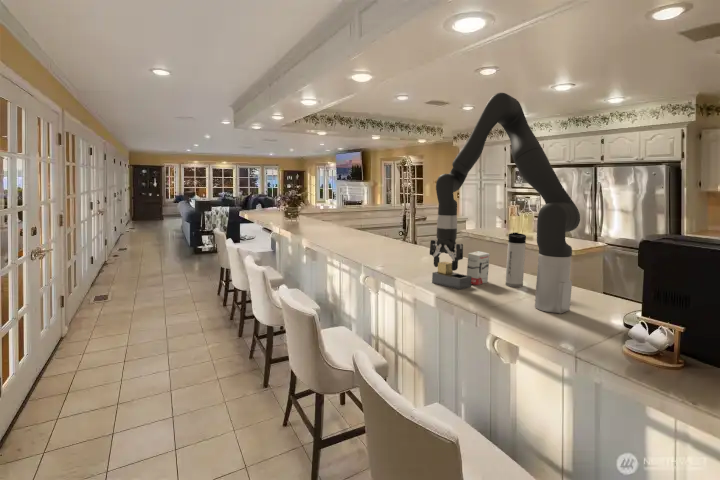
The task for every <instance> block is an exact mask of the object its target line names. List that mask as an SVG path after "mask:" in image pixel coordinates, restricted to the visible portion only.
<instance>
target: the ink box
mask: <svg viewBox="0 0 720 480" xmlns="http://www.w3.org/2000/svg"><path fill="white" fill-rule="evenodd" d="M490 255H491V253H489V252H485V251H480V250H478V251H473V252H469V253H468V255H467V267H466V275H467V276H472V277H471V285H473V286H480V285H482V284H486V283H488V280H489V268H490Z"/></svg>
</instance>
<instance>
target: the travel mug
mask: <svg viewBox="0 0 720 480" xmlns="http://www.w3.org/2000/svg"><path fill="white" fill-rule="evenodd" d="M526 244H527V235H526V234H523V233H519V232H511V233H509V234H508V241H507V253H506V254H507V255H506V268H505V269H506V271H505V285H506V286H508V287H511V288H521V287H523V286H524V274H525V257H526Z"/></svg>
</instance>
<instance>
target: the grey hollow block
mask: <svg viewBox="0 0 720 480" xmlns="http://www.w3.org/2000/svg"><path fill="white" fill-rule="evenodd" d="M471 277H472V276H467V274H463V273H459V272H458V273H457V272H455V271H454V272H453V274H448V275H444V274H440V273H438V271H435V272H432V277H431V278H432V279H431V284H437V285H439V286H443V287H447V288H452V289H455V290H458V291H459V290H460V291H461V290H464V289H468V288H471V287H472V284H471Z"/></svg>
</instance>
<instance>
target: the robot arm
mask: <svg viewBox="0 0 720 480" xmlns="http://www.w3.org/2000/svg"><path fill="white" fill-rule="evenodd" d="M497 124H499V125H501V127H502V128H503V130H504V131H505V133H506V135H507V136H508V138H509V141H510V147H511V148H510V149H511V156H512V160H513V162H514V164H515V167H516V168H517V170H518V172H519V174H520V175H521V177H522V178H523V180H525V181H526V183H528V184H529V185H530V187H532V188H533V189H534V190H535V191H536V192H537V193H538V194H539V195H540V196H541V198H542V200H543V201H544V203H545V204H544V205H542V207H541V208H540V209H539V211H538V214H537V220H536V245H537V246H538V254H537V255H538V258H537V268H536V269H537V271H536V284H535V295H534V296H535V297H534V298H535V299H534V308H536V309H537V310H539V311H543V312H546V313H555V314H564V313H566V312H568V311H570V310H571V309H570V308H571V298H572V289H573V280H572V279H570V278H571V267H572V255H573V247H572V246H571V245H570V244H568V243H567V241H566V233H569V232H572V231H575V230H576V229H577V228H578V227H579V225H580V221H581V214H580V211H579V209H578V206H576V204H575V202H574V201H573V199H572V198H571V197H570V195H569V194H568V192H567V191H566V190H565V188H564V186H563V185H562V183H561V181H560V179H559V178H558V176H557V174H556V172H555V170H554V168H553V167H552V164H551V163H550V160H549V159H548V157H547V154H546V153H545V151H544V149H543V147H542V146H541V144H540V142H539V140H538V139H537V137H536V135H535V133H533V131H532V129H531V127H530V125H529V124H528V120H527V118H526V115H525V112H524V110H523V107H522V105H521V104H520V102H519V101H518V100H517V98H514V97H513V96H511V95H510V94H508V93H505V92H497V93H495V94H494V95H492V96H490V98H489V100H488V101H487V103H486V105H485V107H484V108H483V110H482V112H481V114H480V116H479V118H478V120H477V122H476V123H475V126H474V127H473V130H472V131H471V134H470V135H469V137H468V139H467V141H466V142H465V144H463V146H462V148H461V149H460V150H459V152H458V153H457V155H456V157H455V158H454V159H453V161H452V162H451V163H452V164H451V166H452V168H451V170H450V172H449V173H443V174H440V175H439V176H438V177H437V180H436V182H435V183H436V184H435V191H436V192H435V193H436V197H437V198H436V199H437V202H438V208H437V219H436V239H431V240H430V242H429V243H430V245H429V246H430V247H429V256H432V257H433V266H434V267H435V268H438V263H439V262H440V258H441V257H440V256H441V254H445V255H449V257H450V258H451V263H452V270H453V271H454V272H455V271H457V270H458V267H459V261H462V260H463V259H464V245H463V243H457V242H456V240H457V236H458V235H457V234H458V216H457V215H458V202H457V200H456V199H455V197H454V195H455V194H454V193H455V192H457V191H459V190H460V189H461V187H462V186H463V184H464V182H465V181H466V178H467V177H468V175H469V172H470V171H471V170H472V168H473V167H474V166H475V164H476V163H477V162H478V160H479V159H480V157H481V156H482V153H483V150H484V148H485V144H486V141H487V138H488V136H489V135H490V133H491V131H492V130H493V128H494V127H495V126H496V125H497Z"/></svg>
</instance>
